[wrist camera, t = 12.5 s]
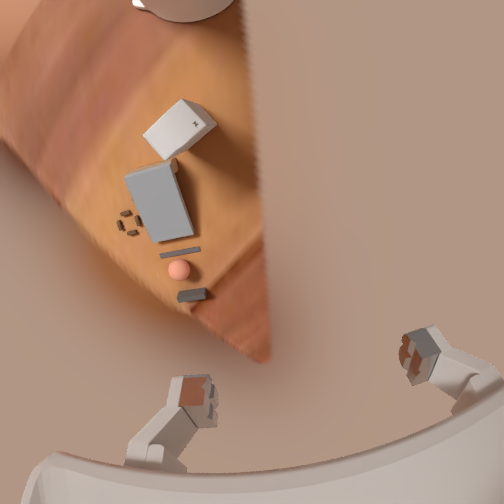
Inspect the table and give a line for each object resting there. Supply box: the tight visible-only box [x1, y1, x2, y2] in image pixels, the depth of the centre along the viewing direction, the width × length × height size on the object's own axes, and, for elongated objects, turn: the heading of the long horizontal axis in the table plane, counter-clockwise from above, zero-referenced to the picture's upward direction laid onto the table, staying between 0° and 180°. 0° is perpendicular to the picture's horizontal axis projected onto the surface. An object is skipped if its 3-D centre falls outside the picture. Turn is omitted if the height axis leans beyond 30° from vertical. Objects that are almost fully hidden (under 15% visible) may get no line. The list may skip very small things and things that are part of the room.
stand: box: [117, 210, 141, 236], centre depth 43 cm, size 4×4×1 cm
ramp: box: [124, 158, 194, 243], centre depth 40 cm, size 12×7×4 cm, turn 10°
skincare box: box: [143, 99, 217, 161], centre depth 32 cm, size 6×4×12 cm
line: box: [160, 247, 200, 258], centre depth 46 cm, size 1×7×1 cm, turn 101°
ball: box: [168, 259, 190, 281], centre depth 45 cm, size 4×4×4 cm
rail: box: [177, 288, 207, 303], centre depth 48 cm, size 1×5×2 cm, turn 100°
